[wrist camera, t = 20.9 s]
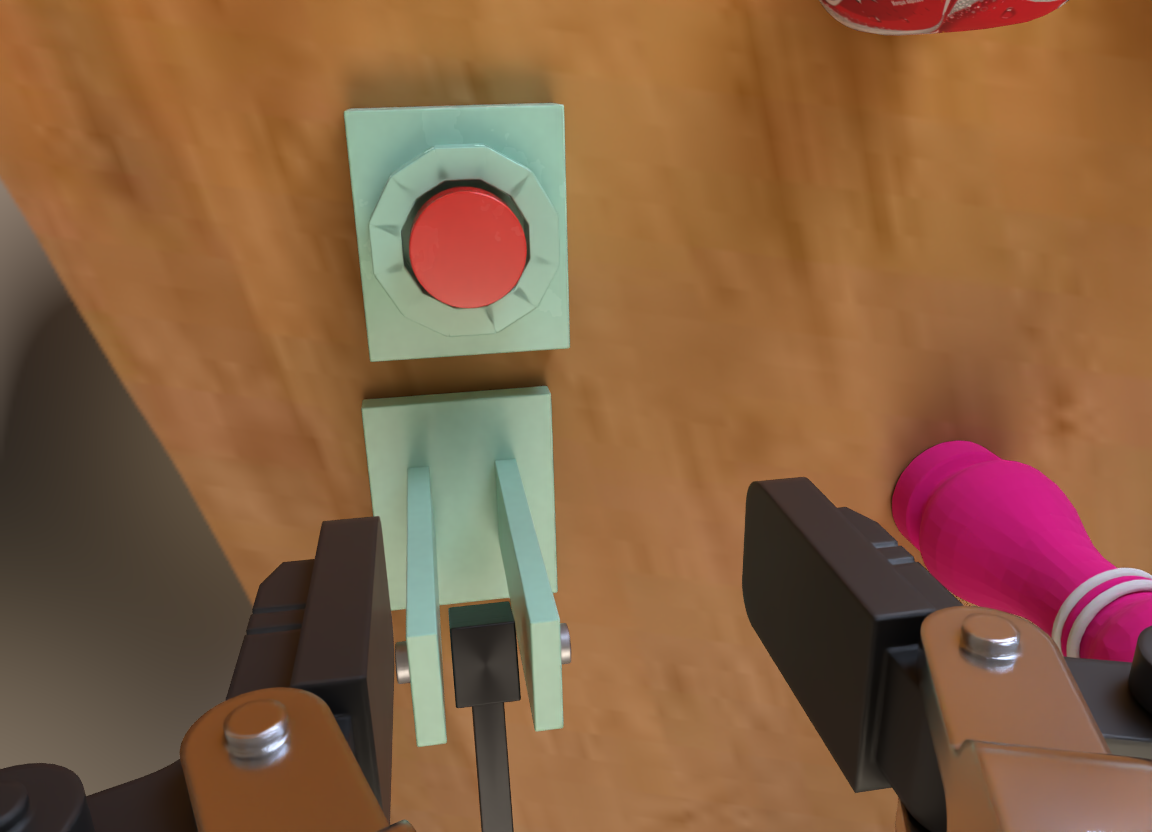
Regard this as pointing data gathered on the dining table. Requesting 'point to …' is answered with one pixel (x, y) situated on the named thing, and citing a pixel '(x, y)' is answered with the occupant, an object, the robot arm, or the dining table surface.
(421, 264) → the button
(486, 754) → the black ball lever
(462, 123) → the button housing
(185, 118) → the dining table surface
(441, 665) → the lever bracket
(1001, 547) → the pepper mill
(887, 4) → the soda can
